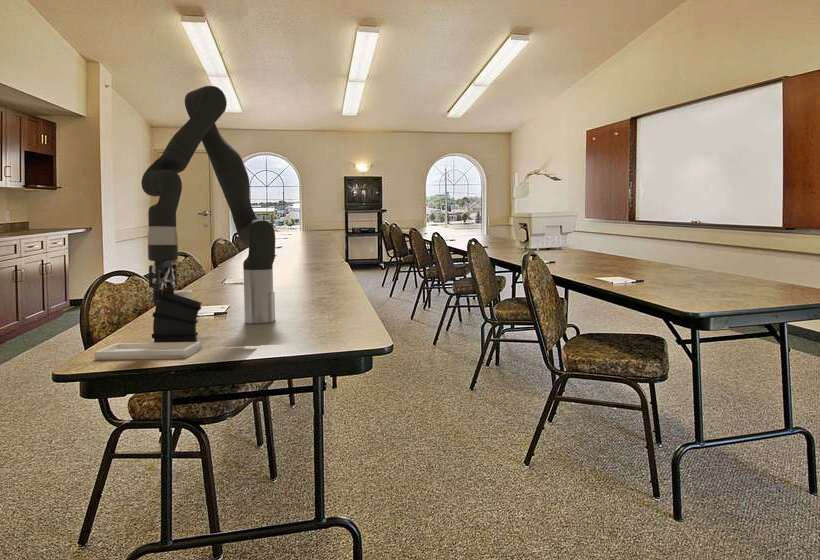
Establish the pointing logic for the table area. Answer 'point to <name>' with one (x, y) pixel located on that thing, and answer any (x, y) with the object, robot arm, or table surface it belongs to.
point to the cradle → (148, 350)
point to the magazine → (175, 319)
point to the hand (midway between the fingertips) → (164, 302)
